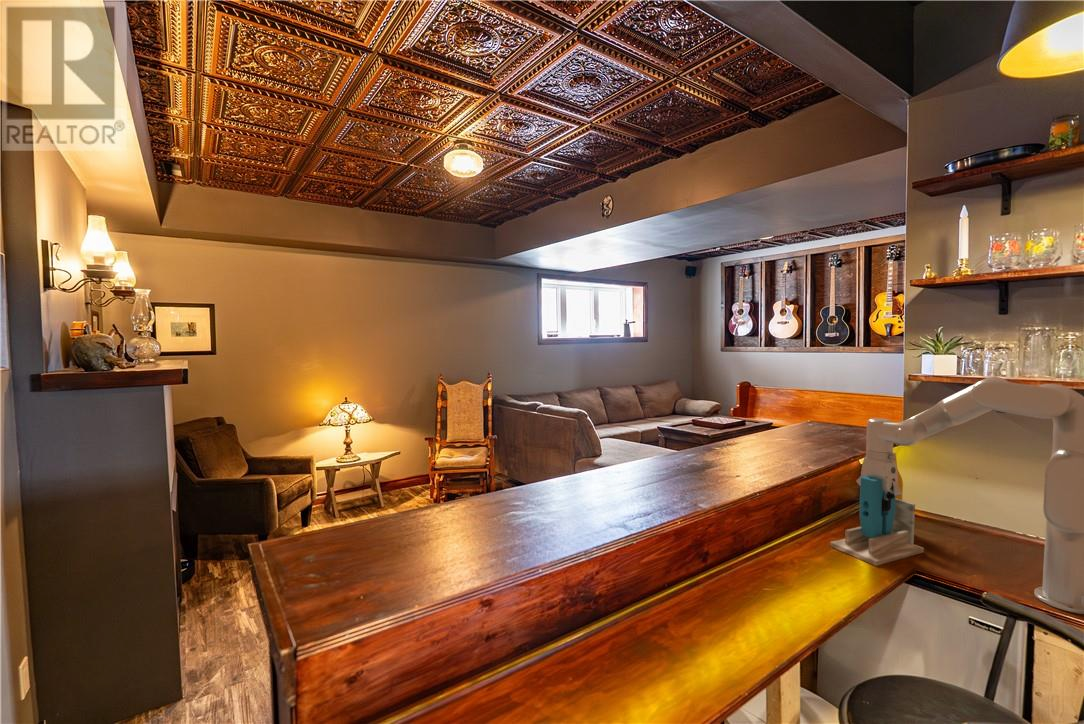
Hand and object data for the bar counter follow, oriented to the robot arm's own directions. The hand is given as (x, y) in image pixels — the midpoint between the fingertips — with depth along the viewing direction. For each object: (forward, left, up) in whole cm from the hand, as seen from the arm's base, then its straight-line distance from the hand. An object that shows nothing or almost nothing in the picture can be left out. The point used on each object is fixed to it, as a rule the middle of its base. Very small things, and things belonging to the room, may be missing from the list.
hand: (877, 507), depth 172 cm
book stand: (0, 0, -15) cm, 15 cm away
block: (0, 0, -10) cm, 10 cm away
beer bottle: (+11, -22, -15) cm, 29 cm away
